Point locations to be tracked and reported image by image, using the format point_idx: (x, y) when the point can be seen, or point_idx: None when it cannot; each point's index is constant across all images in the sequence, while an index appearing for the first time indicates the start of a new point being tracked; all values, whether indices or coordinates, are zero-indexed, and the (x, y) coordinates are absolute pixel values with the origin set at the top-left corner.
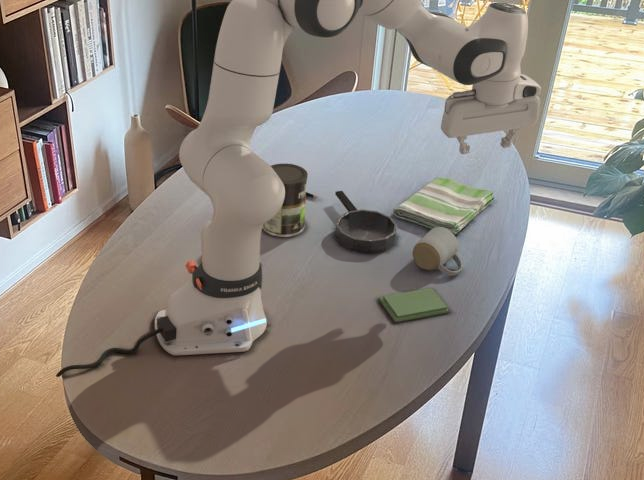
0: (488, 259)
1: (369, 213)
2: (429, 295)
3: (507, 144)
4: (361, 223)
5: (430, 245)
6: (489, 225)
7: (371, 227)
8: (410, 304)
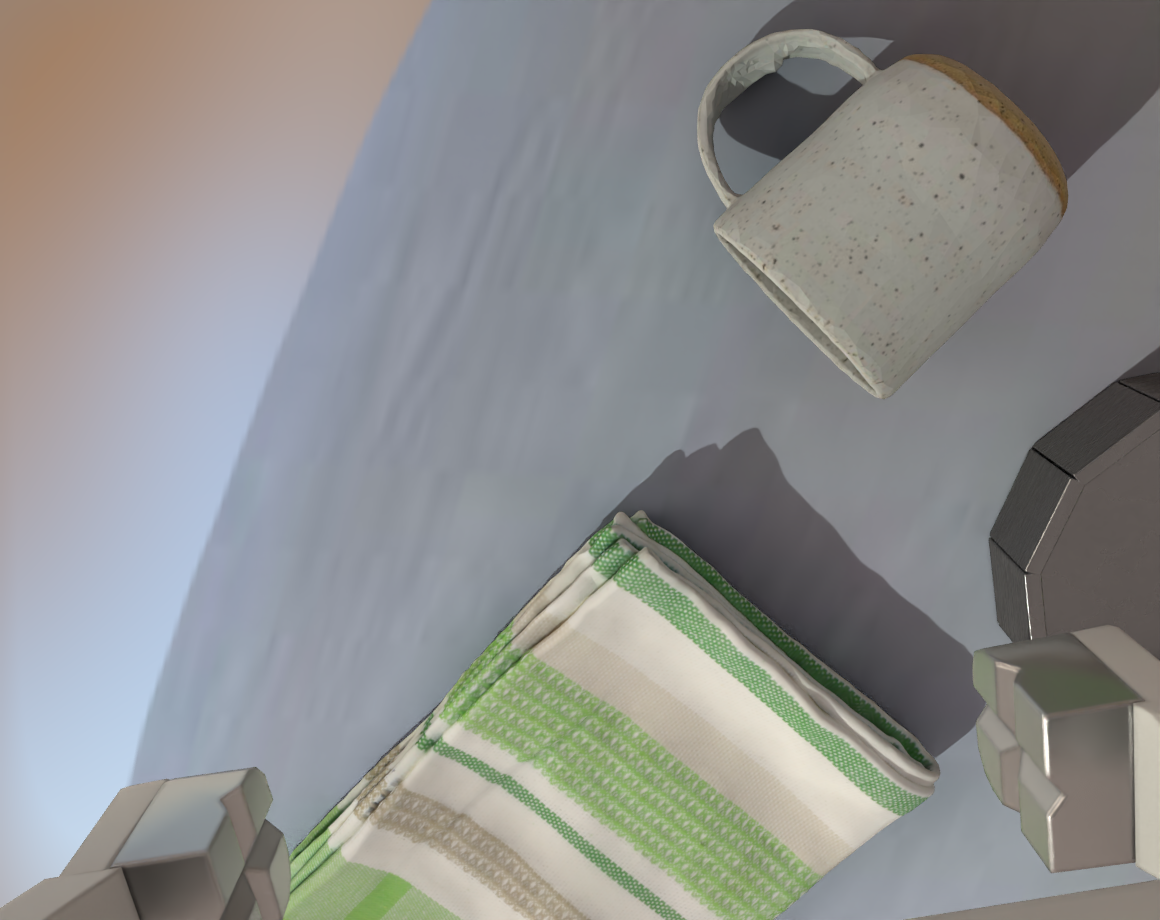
0: (472, 247)
1: None
2: None
3: (177, 808)
4: None
5: (1010, 120)
6: (363, 625)
7: None
8: None
